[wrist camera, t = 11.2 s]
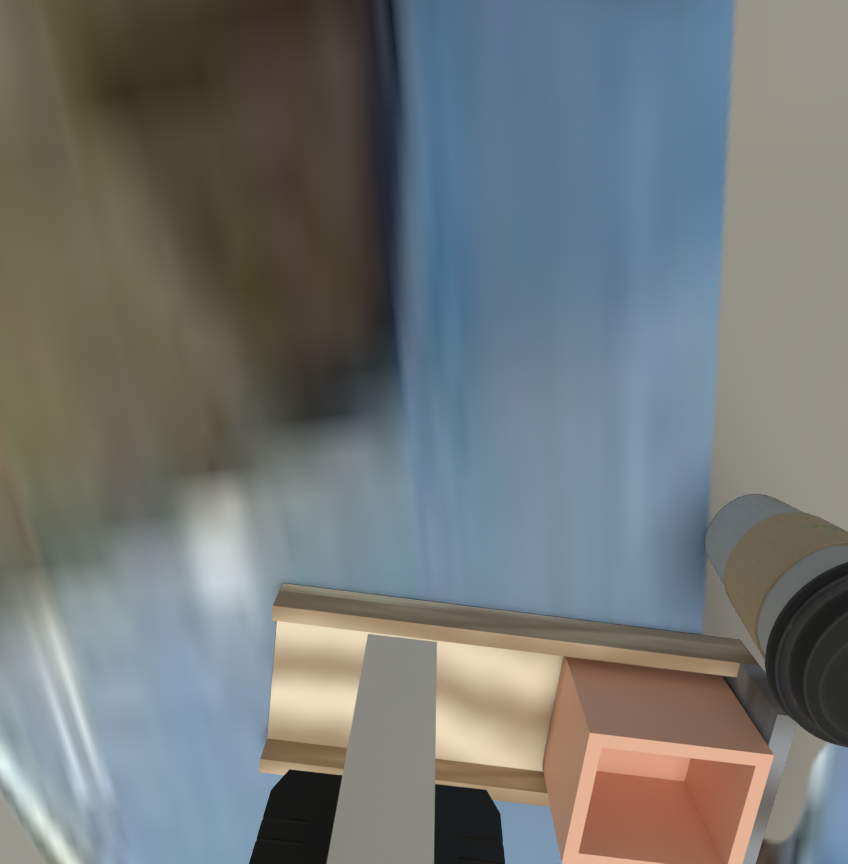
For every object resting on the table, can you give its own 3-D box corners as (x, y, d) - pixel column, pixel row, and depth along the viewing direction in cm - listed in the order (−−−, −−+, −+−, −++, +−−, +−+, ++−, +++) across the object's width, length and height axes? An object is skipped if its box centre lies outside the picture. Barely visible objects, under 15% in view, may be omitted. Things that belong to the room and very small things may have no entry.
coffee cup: (845, 478, 44) (1043, 592, 30) (803, 615, 47) (968, 783, 32) (694, 457, 44) (819, 561, 30) (659, 596, 47) (760, 755, 32)
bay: (283, 583, 47) (252, 650, 39) (739, 639, 47) (799, 717, 40) (269, 741, 50) (238, 832, 42) (699, 792, 50) (747, 892, 43)
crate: (564, 652, 46) (589, 732, 39) (719, 671, 46) (774, 755, 39) (542, 766, 48) (561, 863, 41) (689, 784, 49) (736, 883, 41)
